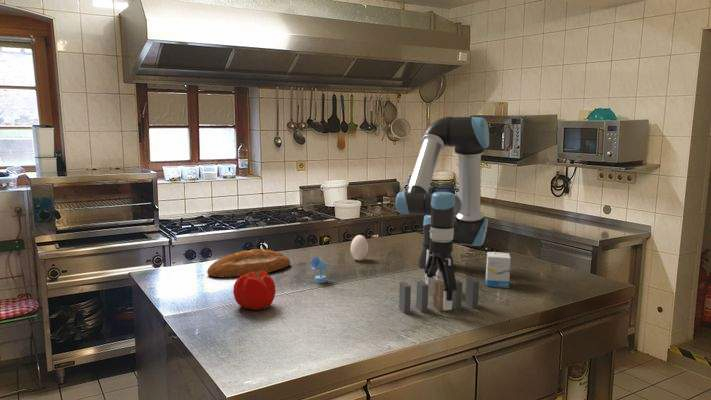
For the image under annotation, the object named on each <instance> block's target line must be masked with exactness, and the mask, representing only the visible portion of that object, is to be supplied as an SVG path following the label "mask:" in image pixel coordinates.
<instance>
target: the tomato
mask: <svg viewBox="0 0 711 400" xmlns="http://www.w3.org/2000/svg"><path fill="white" fill-rule="evenodd" d="M232 289H233V290H232V292H233V297H234V300H235V302H236V303H237V305H239V306H240V307H242V308H243V309H246V310H249V309H250V310H252V311H258V310H264V309H266V308H267V307H270V306H271V305H272V303H273V302H274V299H275V297H276V284H275V281H274V279H273V278H272V277H271V275H270V274H269V273H267V272H266V271H259V272H257V273H255V272H250V273H247V274H246V275H243V276H240V277H238V278H237V279H236V280H235V282H234V284H233V288H232Z"/></svg>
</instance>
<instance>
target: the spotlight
mask: <svg viewBox="0 0 711 400" xmlns="http://www.w3.org/2000/svg"><path fill="white" fill-rule="evenodd" d="M309 266H310V268H311V270H317V271H318V270H319V275H315V276H314V282H315V283H318V284H324V283H326V282H327V280H328V279H327V276H326V275H323V274H322V273H323V271H327V270H328V268H329V264H328V263H327V261H325V260H323V259H321V258H320V257H319V256H314V257H312V259H311V260H310V265H309Z"/></svg>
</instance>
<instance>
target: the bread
mask: <svg viewBox="0 0 711 400" xmlns="http://www.w3.org/2000/svg"><path fill="white" fill-rule="evenodd" d="M290 264H291V260H290V258H289V257H288V256H286V255H284V254H282V253H281V252H279V251H275V250H271V249H260V248H253V249H249V250H247V249H245V250H241V251H237V252H234V253H230V254H228V255H226V256H222V257H221V258H220V259H217V260H216V261H214V262H213V263H211V265H210V266H209V267H208V268H207V270H206V272H207V273H206V274H207V275H208V276H209V277H211V276H212V277H215V278H216V277H217V278H237V277H238V278H239V277H240V276H243V275H246V274H247V273H250V272H255V273H257V272H259V271H266V272H267V274H269V273H272V272H274V271H278V270H281V269H284V268H286V267H288V266H290Z"/></svg>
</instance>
